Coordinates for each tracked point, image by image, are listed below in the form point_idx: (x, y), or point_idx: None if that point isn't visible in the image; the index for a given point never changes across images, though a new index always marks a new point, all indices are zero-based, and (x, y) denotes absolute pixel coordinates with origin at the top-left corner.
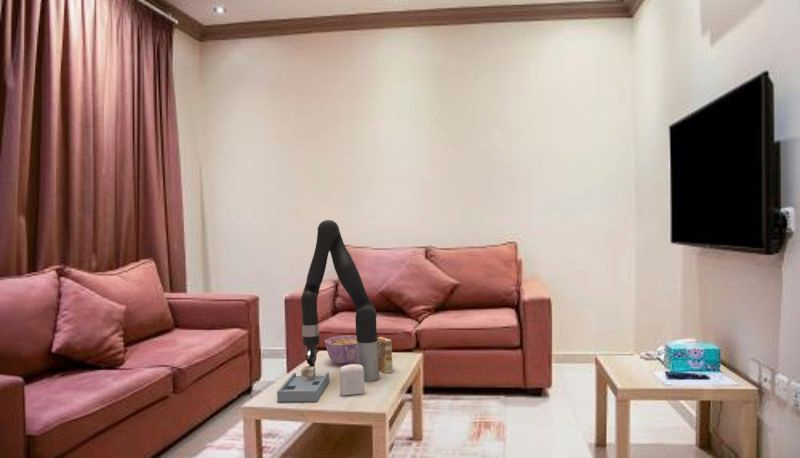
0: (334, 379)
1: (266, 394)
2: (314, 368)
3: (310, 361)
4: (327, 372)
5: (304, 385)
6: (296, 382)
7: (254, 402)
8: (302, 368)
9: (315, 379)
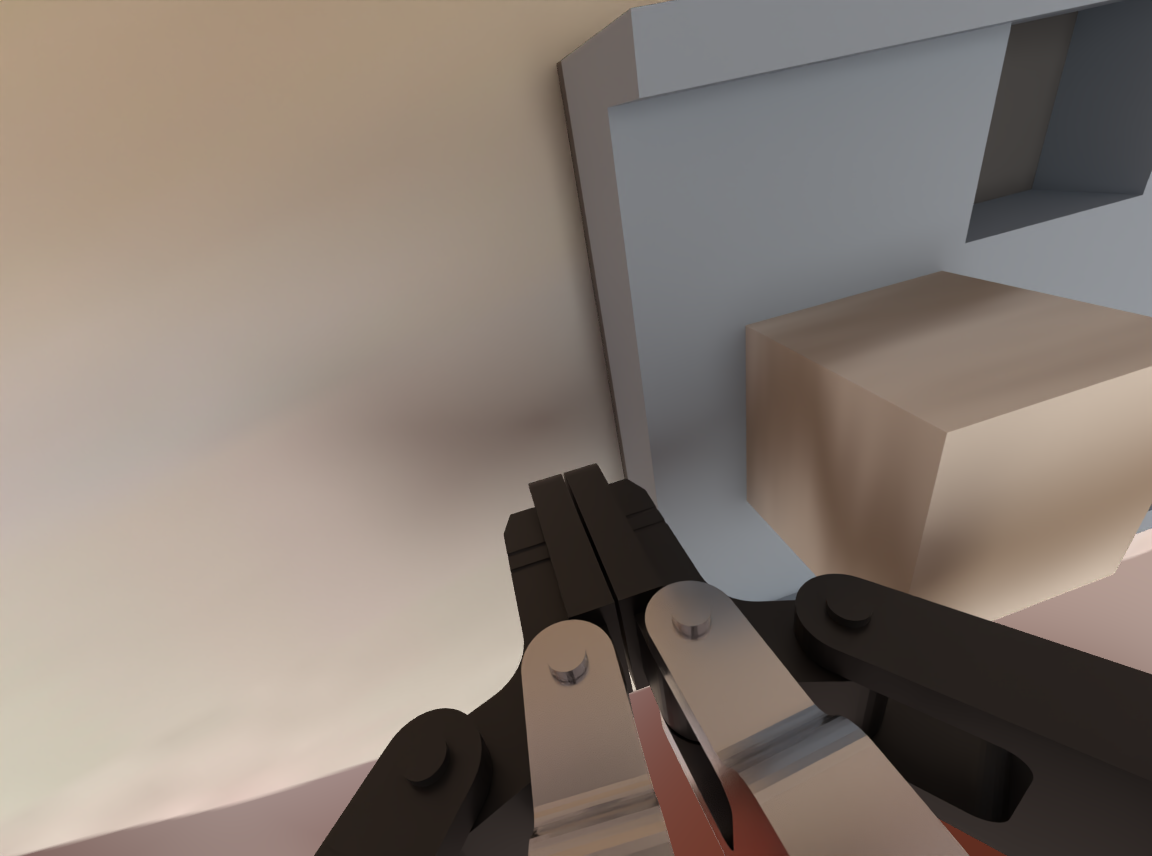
0: (307, 5)
1: None
2: (993, 389)
3: (873, 708)
4: (642, 61)
5: (1121, 300)
6: None
7: None
8: (1035, 601)
9: (866, 265)
